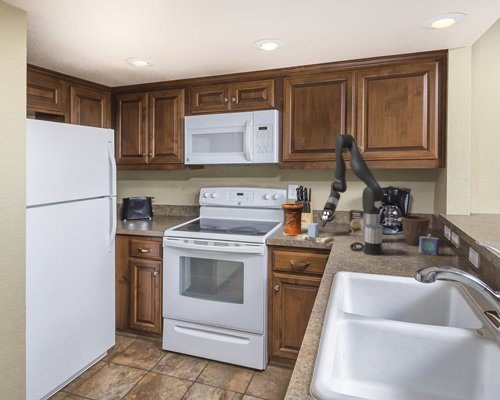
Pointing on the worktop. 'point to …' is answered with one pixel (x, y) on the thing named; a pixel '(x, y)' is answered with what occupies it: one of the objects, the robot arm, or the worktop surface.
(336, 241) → the worktop surface
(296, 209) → the vessel
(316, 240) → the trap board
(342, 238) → the worktop surface
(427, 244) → the flask
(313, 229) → the slate block
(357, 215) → the coffee box
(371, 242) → the milk frother
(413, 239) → the plant pot
